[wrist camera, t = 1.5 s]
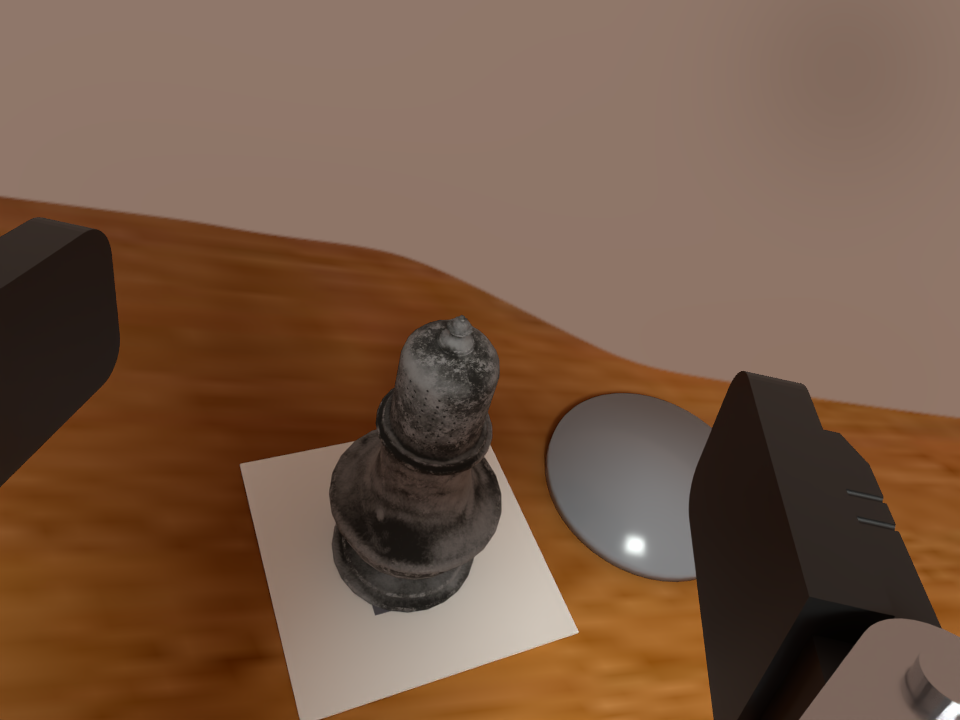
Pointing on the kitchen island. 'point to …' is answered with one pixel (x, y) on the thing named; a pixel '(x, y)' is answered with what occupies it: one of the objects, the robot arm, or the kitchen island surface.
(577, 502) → the coaster
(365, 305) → the kitchen island surface
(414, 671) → the card
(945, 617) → the kitchen island surface
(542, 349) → the kitchen island surface
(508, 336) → the kitchen island surface
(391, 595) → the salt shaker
